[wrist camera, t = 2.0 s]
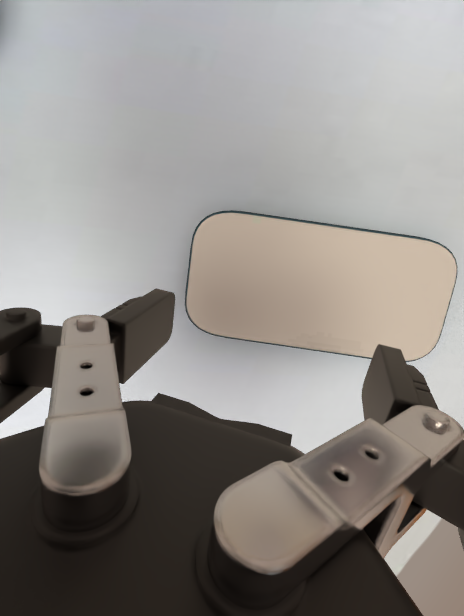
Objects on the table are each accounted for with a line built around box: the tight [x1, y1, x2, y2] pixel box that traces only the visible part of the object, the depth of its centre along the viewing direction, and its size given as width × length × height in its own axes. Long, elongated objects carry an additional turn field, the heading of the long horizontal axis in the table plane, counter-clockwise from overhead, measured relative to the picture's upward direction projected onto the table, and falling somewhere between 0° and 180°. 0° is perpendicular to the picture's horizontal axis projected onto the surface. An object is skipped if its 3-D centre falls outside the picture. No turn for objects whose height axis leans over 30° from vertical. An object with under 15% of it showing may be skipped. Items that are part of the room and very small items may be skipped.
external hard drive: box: [185, 211, 457, 362], centre depth 32 cm, size 24×12×2 cm, turn 82°
